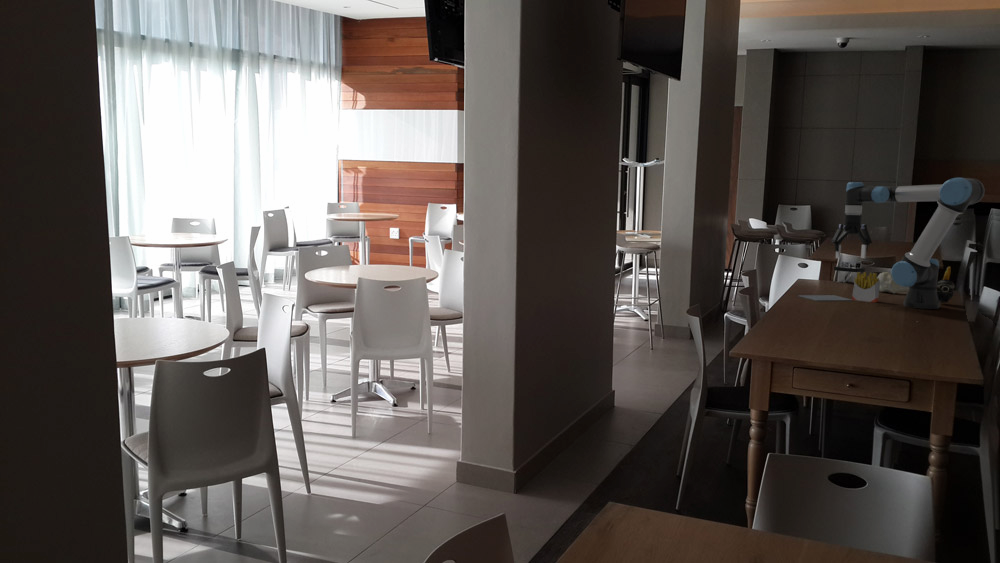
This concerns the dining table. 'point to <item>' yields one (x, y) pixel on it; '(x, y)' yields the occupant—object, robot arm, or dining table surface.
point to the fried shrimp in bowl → (945, 287)
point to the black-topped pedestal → (848, 272)
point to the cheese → (890, 284)
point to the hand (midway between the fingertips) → (850, 258)
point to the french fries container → (866, 288)
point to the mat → (825, 298)
